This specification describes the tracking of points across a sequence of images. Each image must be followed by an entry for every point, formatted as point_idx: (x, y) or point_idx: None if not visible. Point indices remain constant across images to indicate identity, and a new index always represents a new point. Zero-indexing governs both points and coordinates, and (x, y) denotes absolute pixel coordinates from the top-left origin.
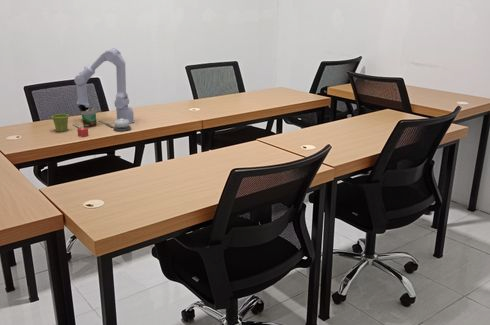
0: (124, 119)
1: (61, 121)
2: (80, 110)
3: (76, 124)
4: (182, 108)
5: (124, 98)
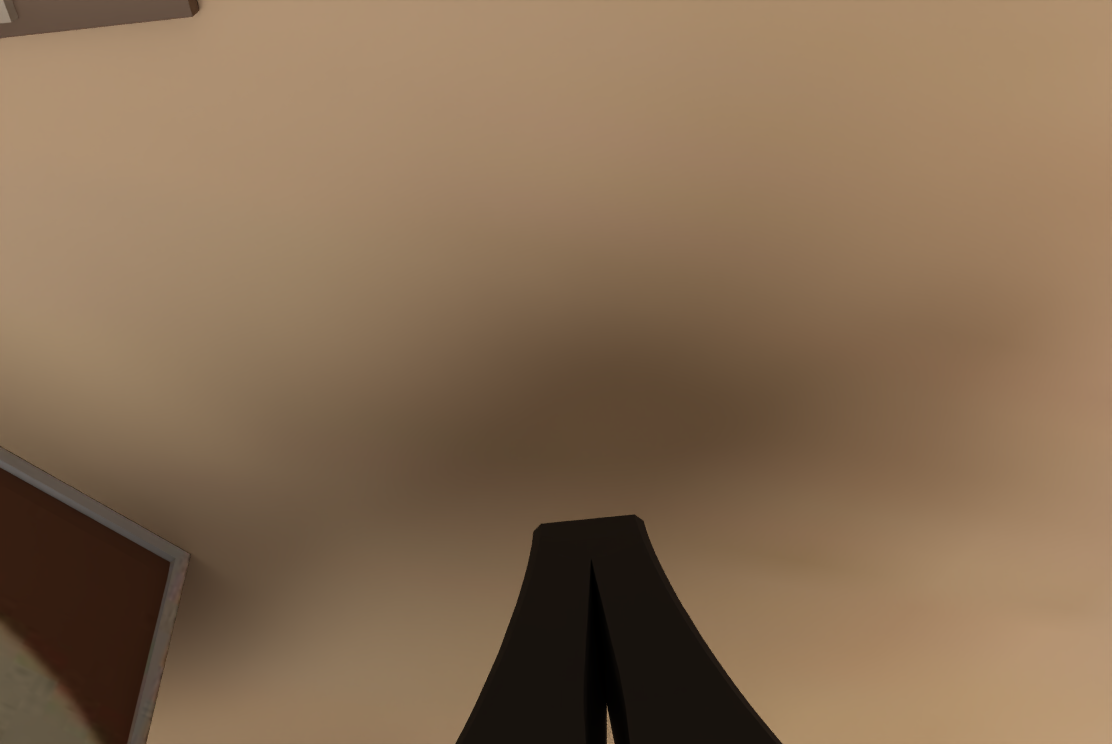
0: None
1: None
2: (738, 732)
3: (85, 15)
4: None
5: None
